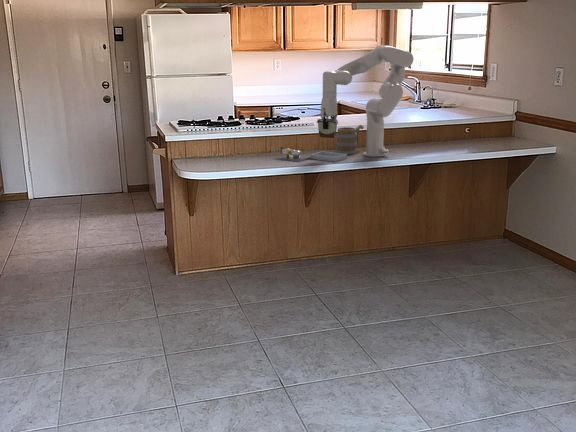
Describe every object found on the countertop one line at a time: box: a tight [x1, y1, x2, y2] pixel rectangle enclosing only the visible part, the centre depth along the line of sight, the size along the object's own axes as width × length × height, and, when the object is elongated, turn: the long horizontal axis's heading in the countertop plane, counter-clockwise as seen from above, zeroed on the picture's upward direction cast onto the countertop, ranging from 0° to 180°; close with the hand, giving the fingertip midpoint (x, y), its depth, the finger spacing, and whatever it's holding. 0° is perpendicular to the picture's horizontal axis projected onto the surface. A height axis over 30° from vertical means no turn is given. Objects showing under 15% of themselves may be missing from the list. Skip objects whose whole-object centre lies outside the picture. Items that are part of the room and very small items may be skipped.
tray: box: [310, 150, 348, 163], centre depth 334 cm, size 16×12×2 cm
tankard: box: [334, 124, 364, 155], centre depth 353 cm, size 20×13×15 cm, turn 126°
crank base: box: [281, 147, 312, 163], centre depth 334 cm, size 13×12×6 cm
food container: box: [316, 118, 339, 140], centre depth 330 cm, size 12×6×10 cm, turn 59°
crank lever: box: [279, 146, 301, 157], centre depth 336 cm, size 13×4×5 cm, turn 58°
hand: (329, 128), depth 330 cm, fingers closed on food container, 6 cm apart
